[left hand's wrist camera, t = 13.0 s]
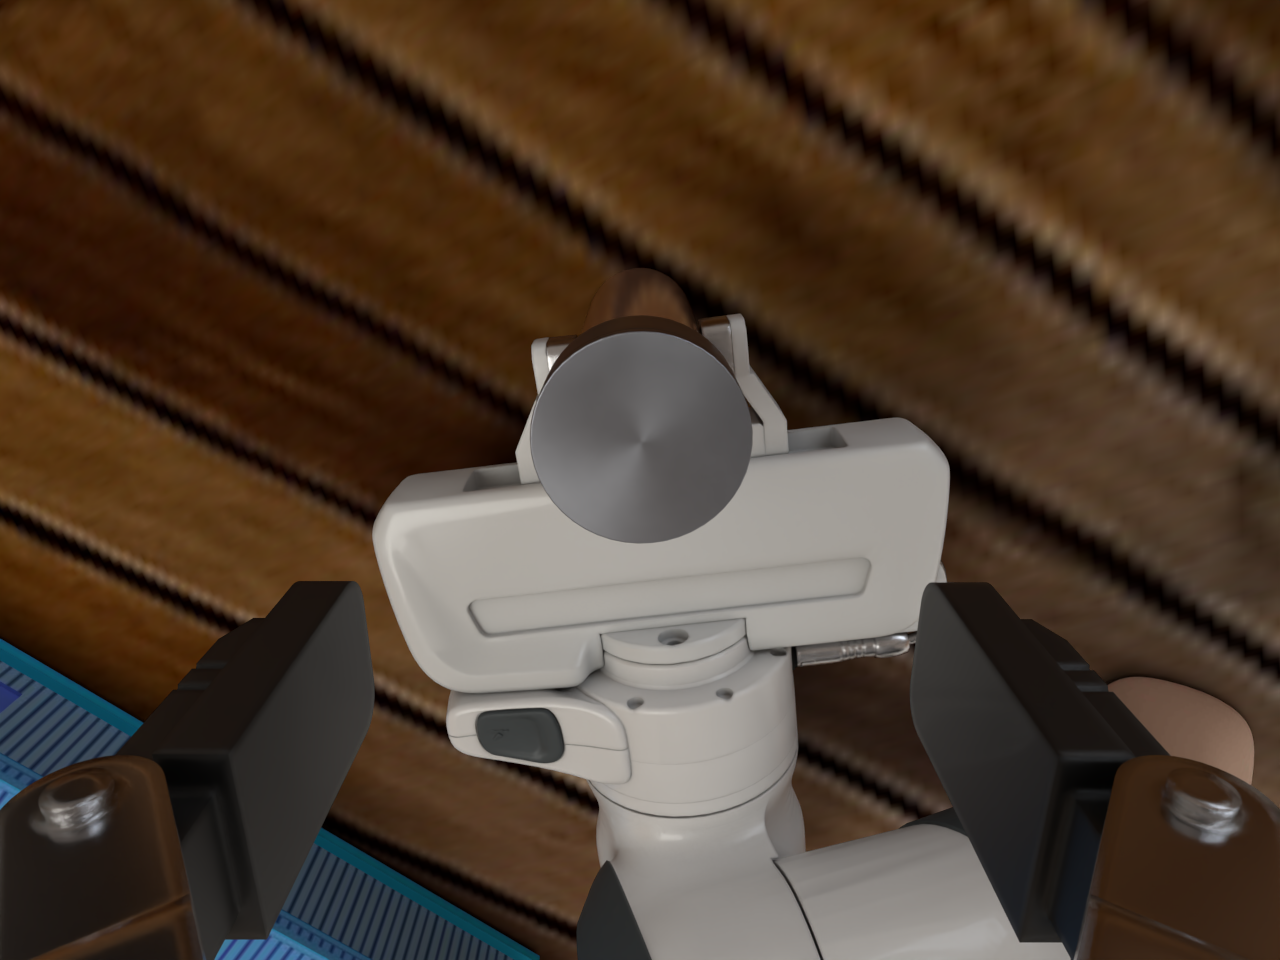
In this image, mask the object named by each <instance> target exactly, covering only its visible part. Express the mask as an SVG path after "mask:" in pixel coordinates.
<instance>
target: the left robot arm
mask: <svg viewBox="0 0 1280 960" xmlns="http://www.w3.org/2000/svg"><path fill="white" fill-rule="evenodd" d="M910 705H911V713H912V718H913V722H914V726H915V729H916V732H917V734H918V736H919V738H920V740H921V742H922V744H923V746H924V748H925V750H926V752H927V754H928V757H929V759H930V761H931V763H932V765H933V767H934V769H935V771H936V773H937V775H938V777H939V779H940V781H941V783H942V785H943V787H944V789H945V791H946V793H947V795H948V797H949V799H950V801H951V803H952V806H953V808H954V810H955V812H956V814H957V816H958V818H959V820H960V822H961V824H962V826H963V828H964V830H965V832H966V834H967V836H968V838H969V840H970V842H971V844H972V846H973V848H974V850H975V852H976V854H977V857H978V859H979V861H980V863H981V865H982V867H983V869H984V871H985V873H986V875H987V877H988V879H989V881H990V883H991V885H992V887H993V889H994V891H995V893H996V895H997V897H998V899H999V901H1000V903H1001V906H1002V908H1003V910H1004V912H1005V914H1006V916H1007V918H1008V920H1009V922H1010V924H1011V926H1012V928H1013V930H1014V932H1015V934H1016V936H1017V938H1018V940H1019V942H1020V943H1063V945H1064V947H1065V949H1066V951H1067V953H1068V954H1069V956H1070V958H1071V960H1280V809H1279V808H1278V807H1277V806H1276V805H1275V804H1274V803H1273V802H1272V801H1271V800H1270V799H1269V798H1268V797H1266V796H1265V795H1264V794H1262V793H1261V792H1260V791H1259V790H1257V789H1256V788H1254V787H1253V786H1251V785H1250V784H1248V783H1246V782H1245V781H1243V780H1241V779H1239V778H1238V777H1236V776H1234V775H1232V774H1230V773H1228V772H1225V771H1223V770H1221V769H1219V768H1216V767H1213V766H1210V765H1208V764H1205V763H1202V762H1198V761H1195V760H1191V759H1187V758H1182V757H1176V756H1171V755H1170V754H1169V753H1168V752H1167V751H1166V750H1165V749H1164V748H1163V746H1162V745H1161V744H1160V743H1159V742H1158V741H1157V740H1156V739H1155V738H1154V736H1153V735H1152V734H1151V733H1150V732H1149V731H1148V730H1147V729H1146V728H1145V727H1144V725H1143V724H1142V723H1141V722H1140V721H1139V720H1138V719H1137V718H1136V717H1135V715H1134V714H1133V713H1132V712H1131V711H1130V710H1129V709H1128V708H1127V707H1126V705H1125V704H1124V703H1123V702H1122V701H1121V700H1120V699H1119V698H1118V697H1117V696H1116V694H1115V693H1114V692H1109V691H1108V686H1107V684H1106V683H1105V682H1104V681H1103V680H1102V679H1101V678H1100V677H1099V676H1098V674H1097V673H1096V672H1095V671H1094V670H1090V669H1089V664H1088V663H1087V662H1086V661H1085V660H1084V659H1083V658H1082V657H1081V656H1080V655H1079V653H1078V652H1077V651H1076V650H1075V649H1074V648H1073V647H1072V646H1071V645H1070V643H1069V642H1068V641H1067V640H1065V639H1063V638H1062V637H1060V636H1058V635H1057V634H1055V633H1054V632H1052V631H1050V630H1049V629H1047V628H1045V627H1044V626H1042V625H1040V624H1039V623H1037V622H1035V621H1034V620H1032V619H1020V618H1019V617H1018V616H1017V615H1016V614H1015V612H1014V611H1013V610H1012V609H1011V608H1010V606H1009V605H1008V604H1007V603H1006V602H1005V600H1004V599H1003V598H1002V597H1001V596H1000V595H999V593H998V592H997V591H996V590H995V589H994V587H993V586H992V585H991V584H989V583H985V582H931V583H929V584H928V585H927V586H926V587H925V589H924V592H923V595H922V599H921V606H920V613H919V621H918V629H917V636H916V644H915V651H914V659H913V667H912V674H911V682H910ZM373 707H374V678H373V670H372V662H371V654H370V647H369V639H368V631H367V623H366V616H365V608H364V601H363V595H362V591H361V589H360V587H359V585H358V584H357V583H356V582H354V581H298V582H296V583H294V584H293V585H292V586H291V587H290V589H289V590H288V591H287V592H286V593H285V595H284V596H283V597H282V598H281V599H280V601H279V602H278V603H277V604H276V605H275V607H274V608H273V609H272V610H271V611H270V613H269V614H268V615H267V616H266V617H265V618H253V619H251V620H249V621H248V622H246V623H244V624H243V625H241V626H239V627H238V628H236V629H234V630H233V631H231V632H230V633H228V634H226V635H225V636H223V637H221V638H220V639H218V640H217V641H216V643H215V644H214V645H213V646H212V647H211V648H210V649H209V650H208V652H207V653H206V654H205V655H204V656H203V657H202V658H201V659H200V660H199V662H198V663H197V667H196V669H191V671H190V672H189V673H188V674H187V675H186V676H185V677H184V678H183V679H182V681H181V682H180V683H179V684H178V689H177V690H173V691H172V692H171V693H170V694H169V695H168V696H167V697H166V698H165V700H164V701H163V702H162V703H161V704H160V705H159V706H158V707H157V709H156V710H155V711H154V712H153V713H152V714H151V715H150V716H149V718H148V719H147V720H146V721H145V722H144V723H143V724H142V725H141V726H140V728H139V729H138V730H137V731H136V732H135V733H134V734H133V735H132V737H131V738H130V739H129V740H128V741H127V742H126V743H125V744H124V745H123V747H122V748H121V749H120V750H119V751H118V752H117V753H116V754H115V755H112V756H104V757H98V758H93V759H89V760H85V761H82V762H78V763H75V764H72V765H70V766H67V767H64V768H61V769H59V770H57V771H55V772H52V773H50V774H48V775H46V776H44V777H42V778H41V779H39V780H37V781H35V782H34V783H32V784H30V785H29V786H27V787H26V788H24V789H23V790H21V791H20V792H19V793H18V794H16V795H15V796H14V797H12V798H11V799H10V800H9V801H8V802H7V803H6V804H5V805H4V806H3V807H2V808H1V809H0V960H214V959H215V957H216V955H217V954H218V952H219V950H220V948H221V946H222V944H223V942H224V941H225V940H267V938H268V936H269V934H270V932H271V930H272V928H273V926H274V924H275V922H276V920H277V918H278V916H279V914H280V911H281V909H282V907H283V905H284V903H285V901H286V899H287V897H288V895H289V893H290V891H291V889H292V887H293V885H294V882H295V880H296V878H297V876H298V874H299V872H300V870H301V868H302V866H303V864H304V862H305V860H306V858H307V856H308V854H309V851H310V849H311V847H312V845H313V843H314V841H315V839H316V837H317V835H318V833H319V831H320V829H321V827H322V825H323V822H324V820H325V818H326V816H327V814H328V812H329V810H330V808H331V806H332V804H333V802H334V800H335V798H336V796H337V794H338V791H339V789H340V787H341V785H342V783H343V781H344V779H345V777H346V775H347V773H348V771H349V769H350V767H351V765H352V762H353V760H354V758H355V756H356V754H357V752H358V750H359V748H360V746H361V744H362V742H363V740H364V738H365V736H366V734H367V731H368V729H369V726H370V723H371V719H372V714H373Z"/></svg>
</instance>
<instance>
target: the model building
mask: <svg viewBox="0 0 1280 960" xmlns="http://www.w3.org/2000/svg"><path fill="white" fill-rule="evenodd" d="M142 724H143V722H141V721H140V720H138V719H136V718H134V717H133V716H131V715H129V714H128V713H126V712H124V711H123V710H121V709H119V708H117V707H116V706H114V705H112V704H111V703H109V702H107V701H106V700H104V699H102V698H100V697H99V696H97V695H95V694H94V693H92V692H90V691H89V690H87V689H85V688H83V687H82V686H80V685H78V684H77V683H75V682H73V681H72V680H70V679H68V678H67V677H65V676H63V675H61V674H60V673H58V672H56V671H55V670H53V669H51V668H50V667H48V666H46V665H44V664H43V663H41V662H39V661H38V660H36V659H34V658H33V657H31V656H29V655H27V654H26V653H24V652H22V651H21V650H19V649H17V648H16V647H14V646H12V645H10V644H9V643H7V642H5V641H4V640H2V639H0V809H1V808H2V807H3V806H4V805H5V804H6V803H7V802H8V801H9V800H10V799H11V798H12V797H14V796H15V795H16V794H18V793H19V792H20V791H21V790H23V789H24V788H26V787H27V786H29V785H30V784H32V783H34V782H35V781H37V780H39V779H41V778H42V777H44V776H46V775H48V774H50V773H52V772H55V771H57V770H59V769H61V768H64V767H67V766H70V765H72V764H75V763H78V762H82V761H85V760H89V759H93V758H98V757H104V756H112V755H115V754H116V753H117V752H118V751H119V750H120V749H121V748H122V747H123V745H124V744H125V743H126V742H127V741H128V740H129V739H130V738H131V737H132V735H133V734H134V733H135V732H136V731H137V730H138V729H139V728H140V726H141V725H142ZM539 959H540V956H539V955H537V954H536V953H534V952H532V951H531V950H529V949H527V948H525V947H524V946H522V945H520V944H519V943H517V942H515V941H514V940H512V939H510V938H508V937H507V936H505V935H503V934H502V933H500V932H498V931H497V930H495V929H493V928H491V927H490V926H488V925H486V924H485V923H483V922H481V921H480V920H478V919H476V918H474V917H473V916H471V915H469V914H468V913H466V912H464V911H463V910H461V909H459V908H457V907H456V906H454V905H452V904H451V903H449V902H447V901H446V900H444V899H442V898H440V897H439V896H437V895H435V894H434V893H432V892H430V891H429V890H427V889H425V888H423V887H422V886H420V885H418V884H417V883H415V882H413V881H412V880H410V879H408V878H406V877H405V876H403V875H401V874H400V873H398V872H396V871H395V870H393V869H391V868H389V867H388V866H386V865H384V864H383V863H381V862H379V861H378V860H376V859H374V858H372V857H371V856H369V855H367V854H366V853H364V852H362V851H361V850H359V849H357V848H355V847H354V846H352V845H350V844H349V843H347V842H345V841H344V840H342V839H340V838H338V837H337V836H335V835H333V834H332V833H330V832H328V831H327V830H325V829H323V828H321V829H320V831H319V833H318V835H317V837H316V839H315V841H314V843H313V845H312V847H311V849H310V851H309V854H308V856H307V858H306V860H305V862H304V864H303V866H302V868H301V870H300V872H299V874H298V876H297V878H296V880H295V882H294V885H293V887H292V889H291V891H290V893H289V895H288V897H287V899H286V901H285V903H284V905H283V907H282V909H281V911H280V914H279V916H278V918H277V920H276V922H275V924H274V926H273V928H272V930H271V932H270V934H269V936H268V938H267V940H225V941H224V942H223V944H222V946H221V948H220V950H219V952H218V954H217V955H216V957H215V959H214V960H539Z"/></svg>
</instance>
